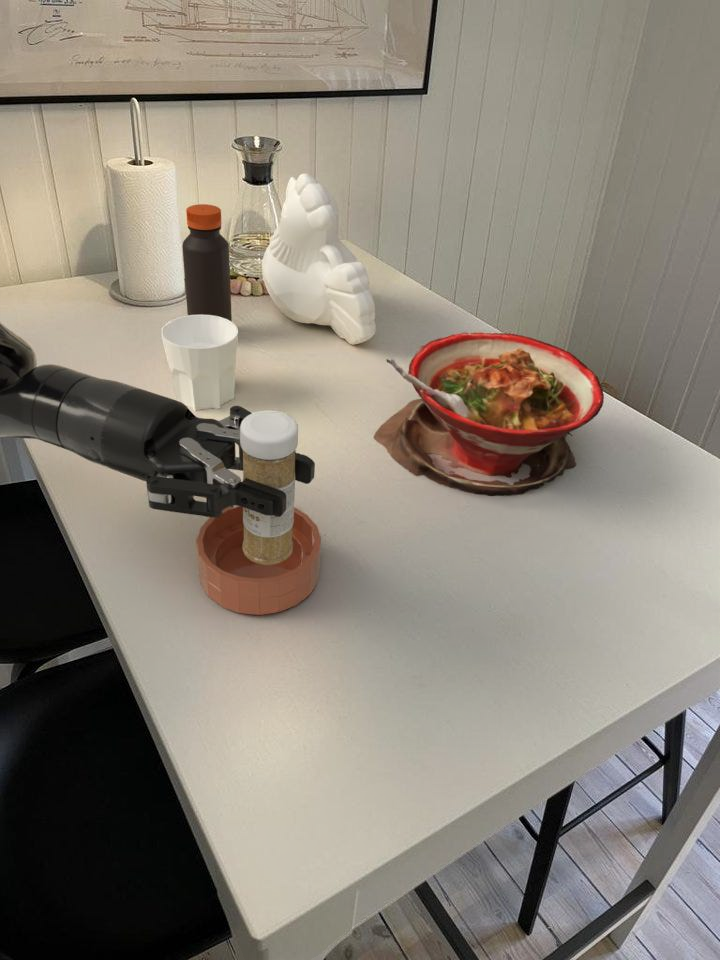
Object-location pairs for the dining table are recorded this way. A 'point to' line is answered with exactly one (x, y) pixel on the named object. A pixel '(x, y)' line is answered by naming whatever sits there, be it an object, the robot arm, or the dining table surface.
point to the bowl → (256, 566)
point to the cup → (201, 359)
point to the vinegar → (206, 263)
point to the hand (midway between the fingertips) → (298, 488)
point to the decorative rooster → (317, 266)
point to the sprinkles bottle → (269, 482)
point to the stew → (491, 410)
